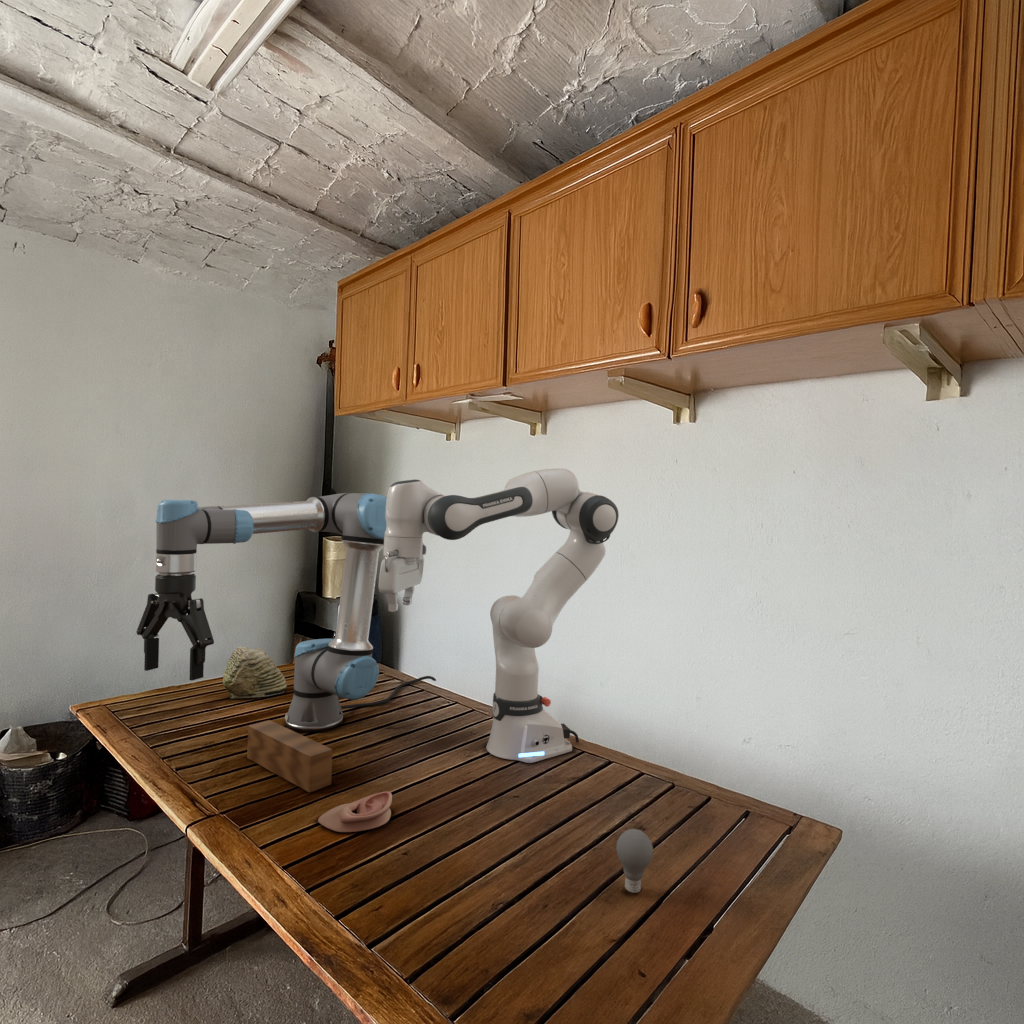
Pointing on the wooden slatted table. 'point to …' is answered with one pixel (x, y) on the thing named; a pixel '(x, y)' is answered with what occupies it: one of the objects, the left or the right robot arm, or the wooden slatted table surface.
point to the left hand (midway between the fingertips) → (173, 674)
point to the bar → (290, 755)
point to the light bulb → (634, 857)
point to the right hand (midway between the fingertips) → (400, 607)
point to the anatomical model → (359, 814)
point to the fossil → (252, 674)
